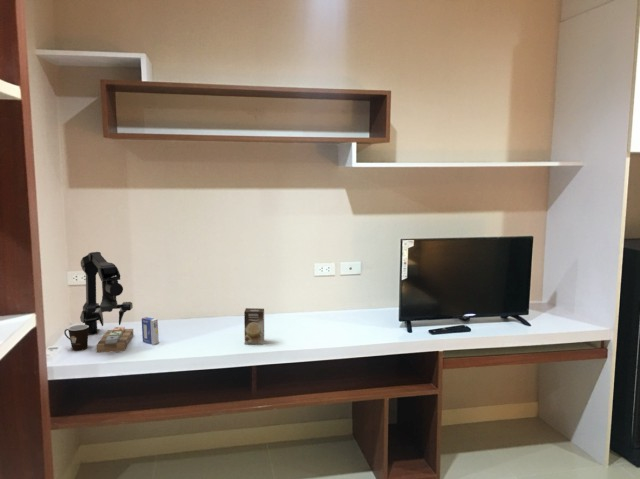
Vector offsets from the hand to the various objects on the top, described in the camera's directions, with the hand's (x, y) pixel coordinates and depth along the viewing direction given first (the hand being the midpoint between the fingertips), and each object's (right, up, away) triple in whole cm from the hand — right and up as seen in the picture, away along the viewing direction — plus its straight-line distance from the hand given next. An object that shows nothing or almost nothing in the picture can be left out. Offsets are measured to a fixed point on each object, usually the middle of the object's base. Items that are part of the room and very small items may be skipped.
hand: (111, 325), depth 236 cm
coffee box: (+65, -10, +10) cm, 66 cm away
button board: (-1, -10, +8) cm, 13 cm away
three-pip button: (-1, -8, +8) cm, 11 cm away
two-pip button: (-2, -7, +15) cm, 17 cm away
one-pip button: (0, -9, +1) cm, 9 cm away
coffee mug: (-16, -11, +3) cm, 20 cm away
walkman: (+15, -10, +10) cm, 21 cm away
